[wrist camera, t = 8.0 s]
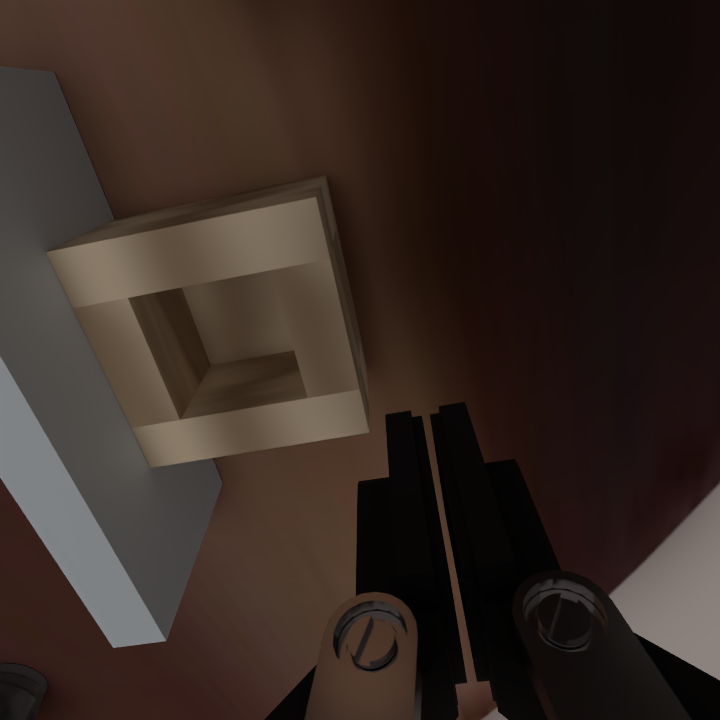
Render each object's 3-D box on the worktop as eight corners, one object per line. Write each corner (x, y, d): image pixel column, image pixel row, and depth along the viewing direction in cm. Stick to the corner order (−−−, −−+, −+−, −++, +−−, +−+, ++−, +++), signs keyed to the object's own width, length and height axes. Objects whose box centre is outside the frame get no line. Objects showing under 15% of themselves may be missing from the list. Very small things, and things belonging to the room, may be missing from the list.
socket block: (326, 174, 23) (315, 196, 17) (367, 367, 27) (369, 432, 22) (116, 218, 23) (45, 252, 18) (190, 398, 28) (150, 467, 23)
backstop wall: (54, 72, 21) (-180, 48, 12) (222, 483, 30) (166, 640, 21) (0, 84, 21) (-270, 71, 12) (184, 489, 31) (113, 647, 22)
